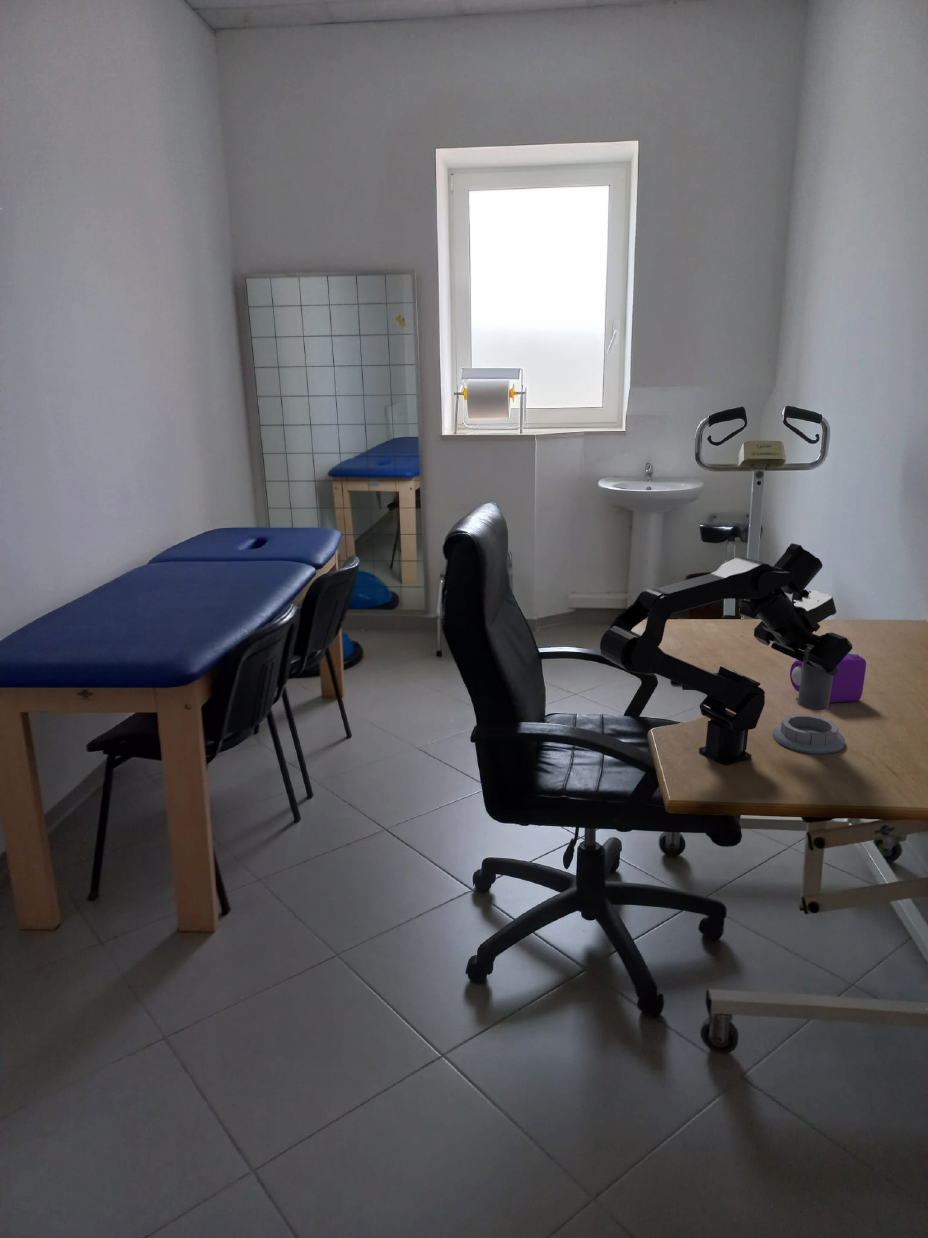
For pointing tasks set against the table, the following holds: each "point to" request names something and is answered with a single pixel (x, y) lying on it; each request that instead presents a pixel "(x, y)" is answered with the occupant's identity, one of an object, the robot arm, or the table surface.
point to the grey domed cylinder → (814, 686)
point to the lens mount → (809, 734)
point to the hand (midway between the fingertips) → (823, 668)
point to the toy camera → (839, 678)
